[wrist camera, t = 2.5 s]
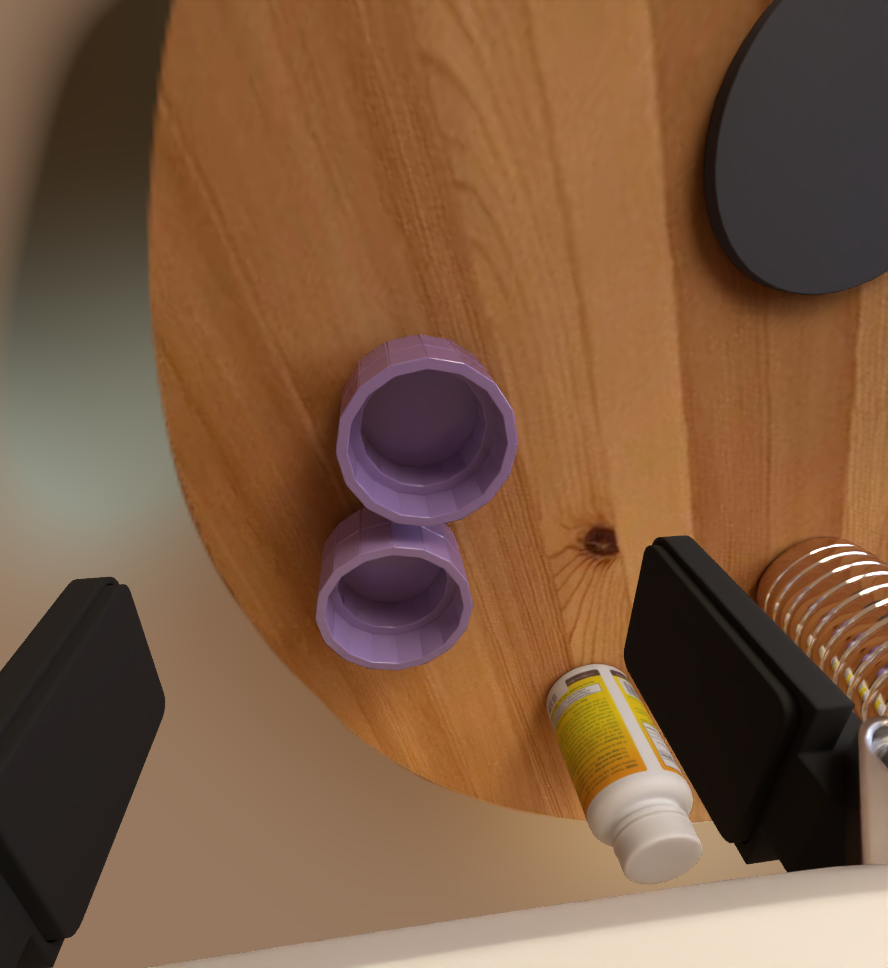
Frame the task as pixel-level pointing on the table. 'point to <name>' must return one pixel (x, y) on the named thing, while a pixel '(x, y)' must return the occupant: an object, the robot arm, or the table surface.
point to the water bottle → (835, 615)
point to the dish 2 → (391, 592)
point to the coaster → (804, 148)
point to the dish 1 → (424, 432)
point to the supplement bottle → (624, 774)
